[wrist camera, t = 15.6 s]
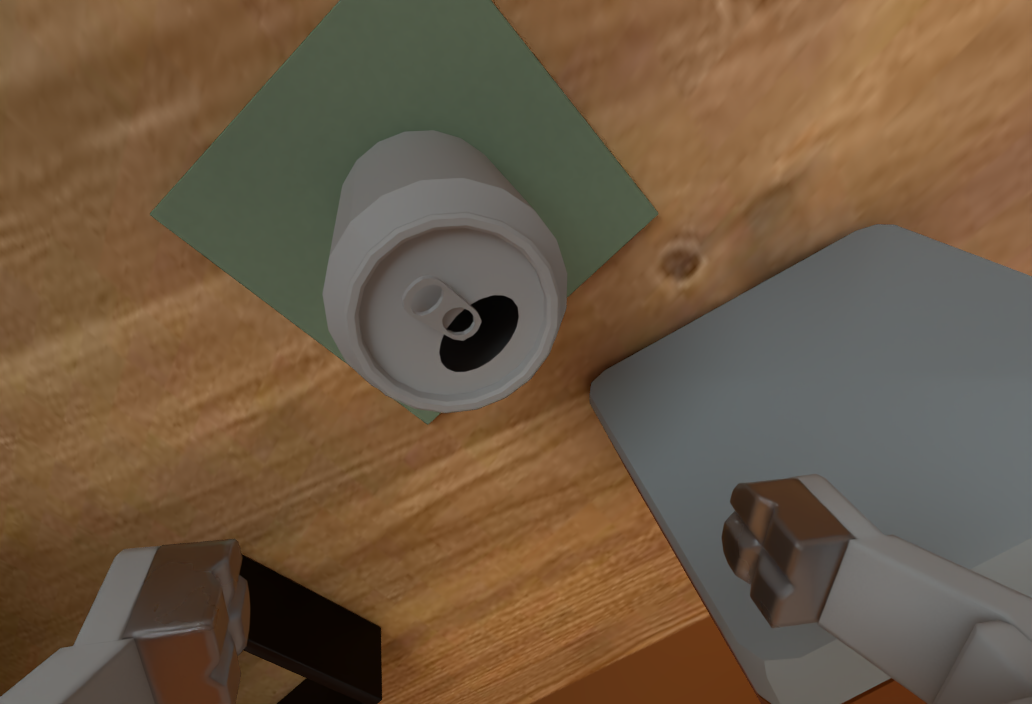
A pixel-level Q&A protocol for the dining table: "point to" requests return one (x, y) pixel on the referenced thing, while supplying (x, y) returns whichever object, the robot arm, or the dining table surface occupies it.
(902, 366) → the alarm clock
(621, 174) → the mat
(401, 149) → the can
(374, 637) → the frame
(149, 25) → the dining table surface
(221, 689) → the robot arm
